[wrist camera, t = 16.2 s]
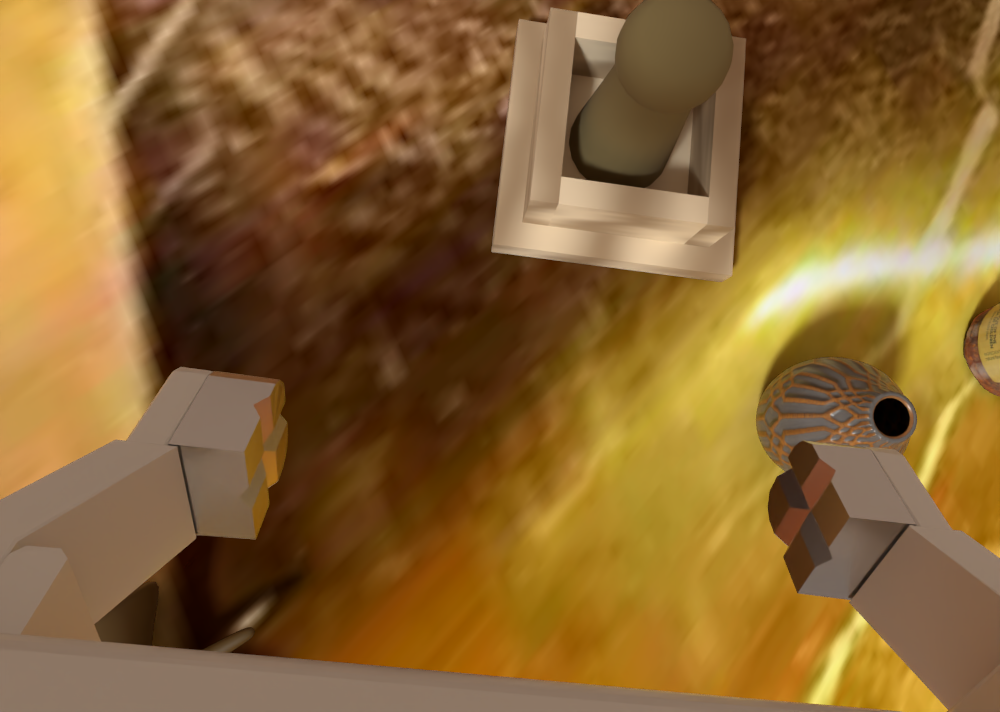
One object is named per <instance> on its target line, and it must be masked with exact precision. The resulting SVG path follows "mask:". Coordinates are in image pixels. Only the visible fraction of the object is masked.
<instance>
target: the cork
mask: <svg viewBox="0 0 1000 712" xmlns="http://www.w3.org/2000/svg"><path fill="white" fill-rule="evenodd" d="M733 47H734V44H733V39H732V35H731V30H730V26H729V23H728V21H727V19H726V18H725V16H724V14H723V12H722V11H721V10H720V9H719V8H718V7H717V6H716V5H715V4H714V3H713V2H712V1H711V0H644V1H643V2H642V3H641V4H640V5H639V6H637V7H636V8H635V9H634V10H633V11H632V12H631V13H630V14H629V15H628V17H627V19H626V21H625V23H624V25H623V27H622V29H621V30H620V33H619V35H618V38H617V44H616V51H615V65H614V66H613V67H612V69H611V70H610V72H609V73H608V74H607V76H606V77H605V78H604V80H603V81H602V82H601V84H600V85H599V87H598V88H597V89H596V91H595V92H594V93H593V95H592V96H591V97H590V99H589V100H588V101H587V103H586V104H585V106H584V107H583V108H582V110H581V111H580V112H579V114H578V115H577V117H576V119H575V121H574V123H573V125H572V127H571V131H570V138H569V147H570V152H571V157H572V160H573V162H574V163H575V165H576V167H577V169H578V171H579V173H581V174H582V175H583V176H584V177H585V178H586V179H587V180H589V181H596V182H604V183H611V184H618V185H625V186H632V187H639V188H646V187H648V186H650V185H651V184H652V183H653V182H654V181H655V180H656V179H657V178H658V177H659V176H660V175H661V174H662V172H663V170H664V168H665V166H666V164H667V162H668V159H669V157H670V155H671V153H672V151H673V149H674V146H675V144H676V142H677V140H678V138H679V135H680V133H681V131H682V129H683V127H684V125H685V122H686V120H687V118H688V116H689V114H690V111H691V109H693V108H695V107H697V106H699V105H701V104H702V103H704V102H706V101H707V100H708V99H709V98H710V97H711V96H712V95H713V94H714V93H715V92H716V91H717V90H718V88H719V87H720V86H721V85H722V84H723V81H724V79H725V77H726V75H727V73H728V71H729V69H730V66H731V63H732V57H733Z"/></svg>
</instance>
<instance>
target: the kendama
mask: <svg viewBox="0 0 1000 712" xmlns="http://www.w3.org/2000/svg"><path fill="white" fill-rule="evenodd" d="M158 595H159V586H158V585H157V583H156V582H146V583H143V584H142V585H140V586H139V587H138V588H137V589H136V590H134V591H133V592H132V593H131V594H130V595H128V596H127V597H126V598H125V599H124V600H123V601H121V602H120V603H119V604H118V605H117V606H115V607H114V608H113V609H112V610H111V611H109V612H108V613H107V614H106V615H105V616H104V617H102V618H101V619H100V620H99V621H98V622H96V623H95V624H94V625H95V628H96V630H97V633H98V635H99V638H100V640H101V642H113V643H124V644H135V645H147V646H152V637H153V628H154V621H155V615H156V609H157V602H158ZM254 632H255V631H254V629H253V628H251V627H248V628H245V629H243V630H240V631H238V632H236V633H234V634H232V635H230V636H228V637H226V638H224V639H222V640H220V641H218V642H216V643H214V644H212V645H210V646H208V647H206V648H204V649H203V650H204V651H215V652H227V653H230V652H232V651H233V650H235V649H236V648H238V647H239V646H241V645H242V644H244V643H245V642H246V641H248V640H249V639H250V638H251V637H253V635H254Z"/></svg>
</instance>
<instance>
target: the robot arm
mask: <svg viewBox="0 0 1000 712" xmlns="http://www.w3.org/2000/svg"><path fill="white" fill-rule="evenodd" d="M284 403H285V391H284V384H283V383H282V382H281V381H280V380H276V379H269V378H262V377H255V376H248V375H240V374H233V373H226V372H219V371H214V372H212V371H207V370H200V369H192V368H185V367H180V368H178V369H176V370H175V371H173V372H172V373H171V375H170V376H169V378H168V379H167V380H166V382H165V383H164V385H163V386H162V388H161V389H160V391H159V392H158V394H157V395H156V397H155V398H154V400H153V401H152V403H151V404H150V406H149V407H148V409H147V410H146V412H145V413H144V415H143V416H142V418H141V419H140V421H139V422H138V424H137V425H136V427H135V428H134V430H133V431H132V433H131V434H130V436H129V437H128V439H127V440H126V441H122V440H114V441H112V442H110V443H108V444H106V445H105V446H103V447H101V448H99V449H97V450H95V451H93V452H91V453H89V454H87V455H85V456H84V457H82V458H80V459H78V460H76V461H74V462H72V463H70V464H68V465H66V466H64V467H62V468H61V469H59V470H57V471H55V472H53V473H51V474H49V475H47V476H45V477H43V478H41V479H39V480H38V481H36V482H34V483H32V484H30V485H28V486H26V487H24V488H22V489H20V490H18V491H17V492H15V493H13V494H11V495H9V496H7V497H5V498H3V499H1V500H0V712H900V711H888V710H877V709H865V708H854V707H843V706H831V705H819V704H808V703H796V702H785V701H773V700H762V699H750V698H738V697H727V696H715V695H704V694H692V693H681V692H669V691H657V690H646V689H634V688H623V687H612V686H600V685H589V684H578V683H567V682H555V681H544V680H533V679H522V678H510V677H499V676H488V675H477V674H465V673H454V672H443V671H431V670H420V669H409V668H397V667H386V666H374V665H363V664H352V663H340V662H329V661H318V660H306V659H295V658H283V657H272V656H261V655H249V654H238V653H227V652H215V651H204V650H192V649H181V648H170V647H158V646H147V645H135V644H124V643H113V642H101V640H100V638H99V635H98V633H97V630H96V628H95V625H94V624H95V623H96V622H98V621H99V620H100V619H101V618H102V617H104V616H105V615H106V614H107V613H108V612H109V611H111V610H112V609H113V608H114V607H115V606H117V605H118V604H119V603H120V602H121V601H123V600H124V599H125V598H126V597H127V596H128V595H130V594H131V593H132V592H133V591H134V590H136V589H137V588H138V587H139V586H140V585H142V584H143V583H144V582H145V581H146V580H147V579H149V578H150V577H151V576H152V575H153V574H155V573H156V572H157V571H158V570H159V569H161V568H162V567H163V566H164V565H165V564H166V563H168V562H169V561H170V560H171V559H172V558H174V557H175V556H176V555H177V554H178V553H180V552H181V551H182V550H183V549H184V548H185V547H187V546H188V545H189V544H190V543H191V542H193V541H194V540H195V539H196V535H203V536H217V537H231V538H245V539H256V537H257V534H258V532H259V529H260V527H261V524H262V521H263V519H264V516H265V514H266V511H267V509H268V506H269V496H268V488H269V487H270V486H272V485H273V484H275V483H276V482H277V481H278V480H279V477H280V474H281V471H282V468H283V465H284V460H285V455H286V450H287V439H288V429H287V422H286V420H285V419H284V418H283V417H282V416H281V415H280V413H281V410H282V408H283V405H284ZM788 459H789V462H790V465H791V469H789V470H788V471H786V472H784V473H783V474H781V475H779V476H778V477H777V478H776V480H775V482H774V484H773V486H772V488H771V490H770V494H769V502H768V513H769V520H770V523H771V526H772V528H773V531H774V534H775V535H777V536H778V537H779V538H780V539H781V540H782V541H783V542H784V543H785V544H786V545H787V546H788V548H787V550H786V552H785V554H784V560H785V562H786V565H787V568H788V570H789V573H790V575H791V578H792V580H793V583H794V585H795V588H796V590H797V593H800V594H808V595H816V596H824V597H831V598H839V599H847V600H851V601H850V602H849V603H850V604H851V605H852V606H853V607H854V608H855V609H856V610H857V611H858V612H859V613H860V614H861V616H862V617H863V618H864V619H865V620H866V621H867V622H868V623H869V624H870V625H871V626H872V627H873V629H874V630H875V631H876V632H877V633H878V634H879V635H880V636H881V637H882V638H883V639H884V640H885V642H886V643H887V644H888V645H889V646H890V647H891V648H892V649H893V650H894V651H895V652H896V654H897V655H898V656H899V657H900V658H901V659H902V660H903V661H904V662H905V663H906V664H907V665H908V667H909V668H910V669H911V670H912V671H913V672H914V673H915V674H916V675H917V676H918V677H919V678H920V680H921V681H922V682H923V683H924V684H925V685H926V686H927V687H928V688H929V689H930V690H931V691H932V693H933V694H934V695H935V696H936V697H937V698H938V699H939V700H940V701H941V702H942V703H943V705H944V706H945V707H946V708H947V709H948V711H947V712H1000V558H999V557H997V556H996V555H994V554H993V553H992V552H990V551H989V550H987V549H986V548H985V547H983V546H982V545H981V544H979V543H978V542H976V541H975V540H974V539H972V538H971V537H969V536H968V535H967V534H965V533H964V532H963V531H957V530H952V529H951V527H950V526H949V524H948V523H947V521H946V520H945V518H944V517H943V515H942V513H941V512H940V510H939V509H938V507H937V506H936V504H935V503H934V501H933V500H932V498H931V497H930V495H929V494H928V492H927V491H926V489H925V488H924V486H923V485H922V483H921V482H920V480H919V478H918V477H917V475H916V474H915V472H914V471H913V469H912V468H911V466H910V465H909V463H908V462H907V460H906V459H905V457H904V456H903V455H902V454H901V453H899V452H898V451H896V450H895V449H885V448H875V447H858V446H850V445H840V444H831V443H822V442H813V441H803V440H802V441H801V442H799V443H798V444H797V445H795V446H794V448H793V450H792V451H791V453H790V455H789V456H788Z"/></svg>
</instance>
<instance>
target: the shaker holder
mask: <svg viewBox="0 0 1000 712" xmlns="http://www.w3.org/2000/svg"><path fill="white" fill-rule="evenodd" d="M625 21H626V19H620V18H613V17H607V16H601V15H594V14H588V13H582V12H575V11H569V10H563V9H556V8H551V9H550V13H549V17H548V21H547V23H541V22H534V21H528V20H522V19H519V22H518V28H517V33H516V41H515V50H514V59H513V67H512V76H511V85H510V94H509V102H508V111H507V120H506V128H505V137H504V146H503V155H502V163H501V172H500V181H499V189H498V198H497V207H496V216H495V224H494V233H493V242H492V250H491V252H497V253H504V254H512V255H520V256H527V257H535V258H542V259H550V260H558V261H565V262H573V263H580V264H588V265H596V266H603V267H611V268H619V269H626V270H634V271H641V272H649V273H657V274H664V275H672V276H679V277H687V278H695V279H702V280H710V281H717V282H722V281H724V280H726V279H727V278H729V277H731V276H732V269H733V253H734V236H735V219H736V203H737V186H738V169H739V153H740V136H741V119H742V103H743V86H744V69H745V49H746V38H740V37H733V36H732V39H733V44H734V47H733V57H732V63H731V66H730V69H729V71H728V73H727V75H726V77H725V79H724V81H723V84H722V85H721V86H720V87H719V88H718V90H717V91H716V92H715V93H714V94H713V95H712V96H711V97H710V98H709V99H708V100H707V101H706V102H704V103H702V104H701V105H699V106H697V107H695V108H693V109H691V111H690V114H689V116H688V118H687V120H686V122H685V125H684V127H683V129H682V131H681V133H680V135H679V138H678V140H677V142H676V144H675V146H674V149H673V151H672V153H671V155H670V157H669V159H668V162H667V164H666V166H665V168H664V170H663V172H662V174H661V175H660V176H659V177H658V178H657V179H656V180H655V181H654V182H653V183H652V184H651V185H650V186H648V187H646V188H639V187H632V186H625V185H618V184H611V183H604V182H596V181H589V180H587V179H586V178H585V177H584V176H583V175H582V174H581V173H579V171H578V169H577V167H576V165H575V163H574V162H573V160H572V157H571V152H570V147H569V138H570V131H571V127H572V125H573V123H574V121H575V119H576V117H577V115H578V114H579V112H580V111H581V110H582V108H583V107H584V106H585V104H586V103H587V101H588V100H589V99H590V97H591V96H592V95H593V93H594V92H595V91H596V89H597V88H598V87H599V85H600V84H601V82H602V81H603V80H604V78H605V77H606V76H607V74H608V73H609V72H610V70H611V69H612V67H613V66H614V65H615V51H616V44H617V38H618V35H619V33H620V30H621V29H622V27H623V25H624V23H625Z"/></svg>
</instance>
